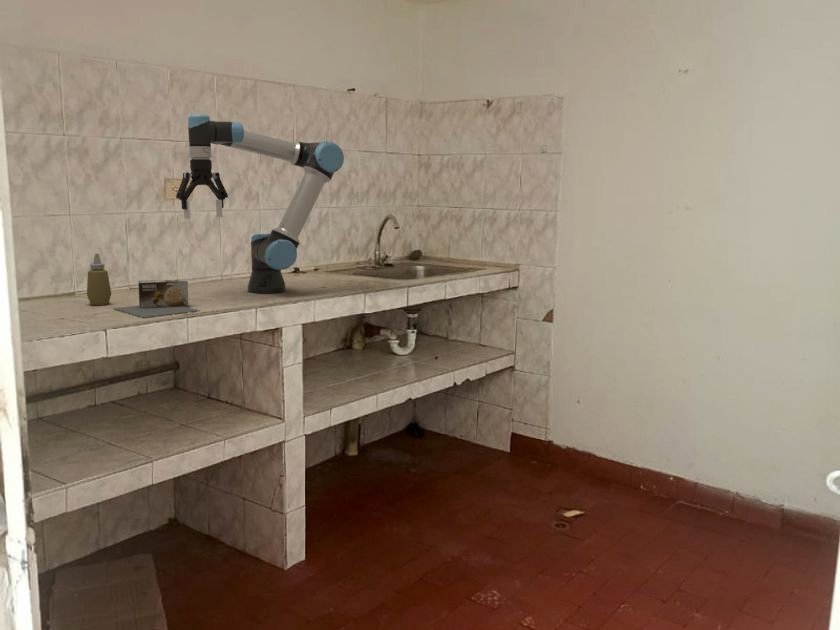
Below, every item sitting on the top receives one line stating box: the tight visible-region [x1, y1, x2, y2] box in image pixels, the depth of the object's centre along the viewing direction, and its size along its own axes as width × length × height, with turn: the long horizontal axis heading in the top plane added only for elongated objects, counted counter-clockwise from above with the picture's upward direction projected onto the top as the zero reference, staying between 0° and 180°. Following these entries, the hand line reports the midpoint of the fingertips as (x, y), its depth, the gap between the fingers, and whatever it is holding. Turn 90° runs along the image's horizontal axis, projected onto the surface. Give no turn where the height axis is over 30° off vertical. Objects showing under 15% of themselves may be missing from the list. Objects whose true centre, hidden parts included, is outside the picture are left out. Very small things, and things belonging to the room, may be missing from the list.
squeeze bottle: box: [86, 253, 112, 306], centre depth 263 cm, size 8×8×18 cm
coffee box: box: [137, 278, 189, 308], centre depth 261 cm, size 9×6×16 cm
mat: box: [113, 305, 201, 319], centre depth 255 cm, size 20×22×1 cm
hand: (203, 218), depth 273 cm, fingers open, 13 cm apart
